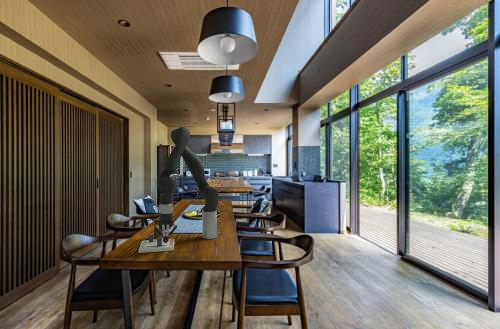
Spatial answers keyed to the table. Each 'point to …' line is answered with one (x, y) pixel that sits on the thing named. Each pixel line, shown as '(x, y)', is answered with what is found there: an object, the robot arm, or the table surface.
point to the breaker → (151, 237)
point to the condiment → (156, 231)
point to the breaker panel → (153, 247)
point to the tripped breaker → (159, 241)
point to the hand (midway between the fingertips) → (165, 242)
